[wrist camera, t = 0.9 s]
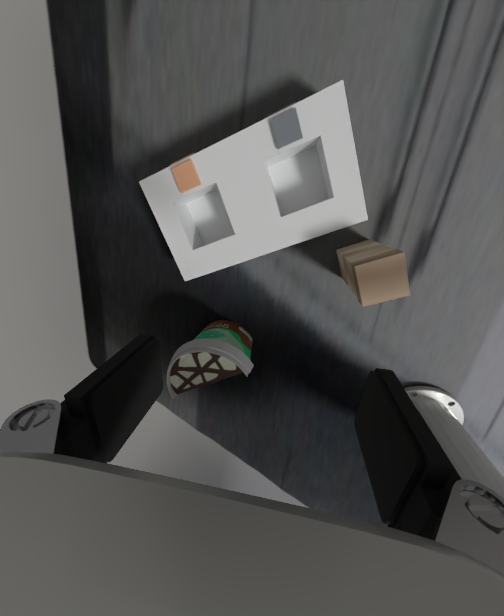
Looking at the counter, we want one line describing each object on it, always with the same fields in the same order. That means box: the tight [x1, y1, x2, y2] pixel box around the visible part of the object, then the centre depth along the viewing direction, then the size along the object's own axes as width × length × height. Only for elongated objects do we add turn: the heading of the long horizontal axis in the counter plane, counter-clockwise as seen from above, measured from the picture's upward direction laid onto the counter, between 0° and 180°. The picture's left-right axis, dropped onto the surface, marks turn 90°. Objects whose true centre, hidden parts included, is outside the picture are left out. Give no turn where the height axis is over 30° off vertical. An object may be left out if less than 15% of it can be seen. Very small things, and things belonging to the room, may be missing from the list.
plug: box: [336, 239, 410, 307], centre depth 26 cm, size 4×4×10 cm
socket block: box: [139, 80, 368, 281], centre depth 27 cm, size 12×22×5 cm, turn 110°
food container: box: [166, 320, 254, 400], centre depth 33 cm, size 12×6×10 cm, turn 117°
